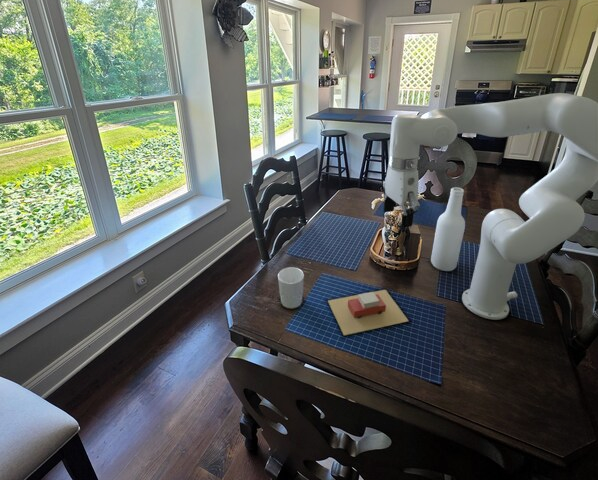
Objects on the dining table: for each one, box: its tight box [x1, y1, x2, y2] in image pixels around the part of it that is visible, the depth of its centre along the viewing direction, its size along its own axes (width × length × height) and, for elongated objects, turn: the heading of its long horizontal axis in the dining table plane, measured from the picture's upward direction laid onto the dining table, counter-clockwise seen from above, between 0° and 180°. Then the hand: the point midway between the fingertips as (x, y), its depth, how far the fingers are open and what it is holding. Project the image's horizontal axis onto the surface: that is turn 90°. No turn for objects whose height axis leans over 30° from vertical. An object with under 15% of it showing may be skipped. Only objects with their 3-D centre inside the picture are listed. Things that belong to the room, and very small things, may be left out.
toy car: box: [348, 291, 386, 318], centre depth 96 cm, size 10×5×5 cm, turn 104°
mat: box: [327, 289, 409, 336], centre depth 97 cm, size 20×14×1 cm
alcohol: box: [430, 186, 466, 272], centre depth 112 cm, size 9×9×30 cm
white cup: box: [277, 266, 305, 309], centre depth 99 cm, size 8×8×10 cm
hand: (397, 218), depth 92 cm, fingers open, 9 cm apart
